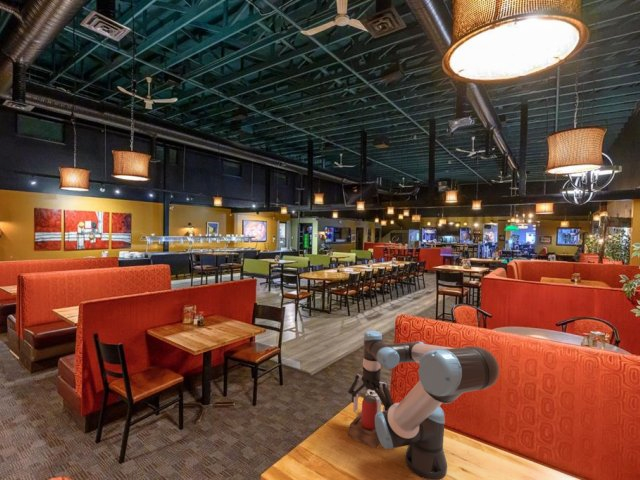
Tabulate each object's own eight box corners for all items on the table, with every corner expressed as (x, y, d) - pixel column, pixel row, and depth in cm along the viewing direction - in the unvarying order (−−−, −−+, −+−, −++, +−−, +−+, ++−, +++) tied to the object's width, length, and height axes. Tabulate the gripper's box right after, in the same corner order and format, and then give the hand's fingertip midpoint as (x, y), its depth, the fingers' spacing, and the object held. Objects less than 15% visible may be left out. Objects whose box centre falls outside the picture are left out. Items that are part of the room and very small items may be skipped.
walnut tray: (388, 432, 139) (389, 420, 138) (376, 449, 128) (377, 436, 128) (361, 421, 146) (362, 410, 146) (348, 436, 135) (348, 424, 135)
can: (364, 411, 154) (365, 387, 154) (380, 413, 153) (381, 388, 153) (364, 420, 147) (365, 395, 146) (381, 422, 146) (382, 397, 145)
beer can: (376, 431, 132) (377, 403, 132) (360, 429, 134) (361, 401, 133) (376, 422, 139) (377, 395, 138) (361, 420, 140) (362, 393, 140)
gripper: (403, 372, 132) (400, 422, 133) (350, 357, 146) (348, 402, 147) (396, 379, 126) (394, 431, 126) (342, 362, 139) (340, 409, 140)
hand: (369, 415), depth 136 cm, fingers open, 13 cm apart
